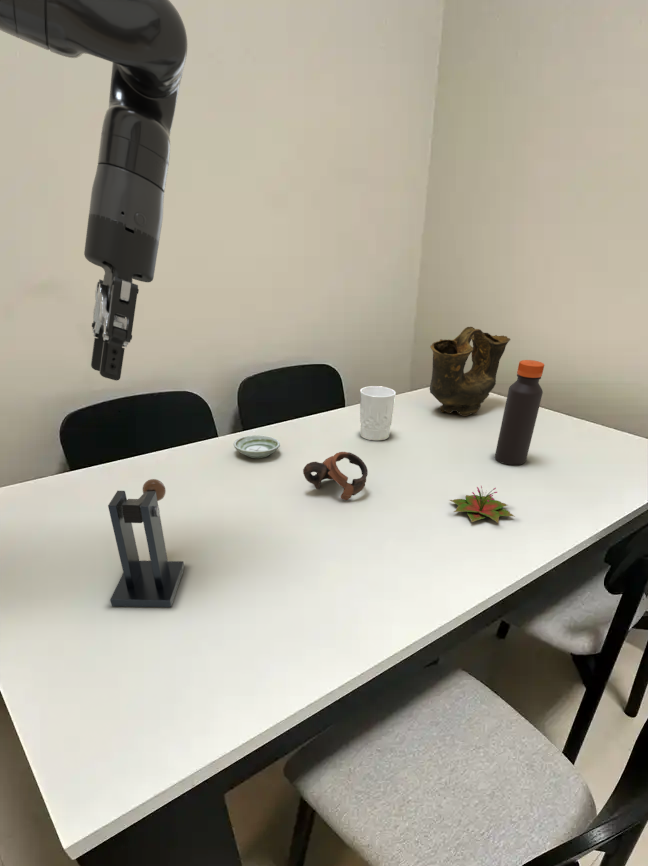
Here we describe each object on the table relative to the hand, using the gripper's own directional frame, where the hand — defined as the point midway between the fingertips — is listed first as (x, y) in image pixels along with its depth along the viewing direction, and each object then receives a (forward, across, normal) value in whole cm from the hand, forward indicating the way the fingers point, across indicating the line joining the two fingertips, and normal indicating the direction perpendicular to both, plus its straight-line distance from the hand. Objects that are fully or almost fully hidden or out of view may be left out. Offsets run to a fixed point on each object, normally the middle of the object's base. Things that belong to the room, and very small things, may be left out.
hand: (104, 374), depth 71 cm
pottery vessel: (-13, -47, +92) cm, 104 cm away
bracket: (+26, +2, +10) cm, 28 cm away
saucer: (+10, -38, +37) cm, 54 cm away
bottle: (-5, -16, +85) cm, 86 cm away
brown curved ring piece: (+10, -16, +45) cm, 49 cm away
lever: (+16, -1, +8) cm, 18 cm away
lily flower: (+6, +2, +66) cm, 66 cm away
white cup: (-1, -39, +64) cm, 75 cm away
